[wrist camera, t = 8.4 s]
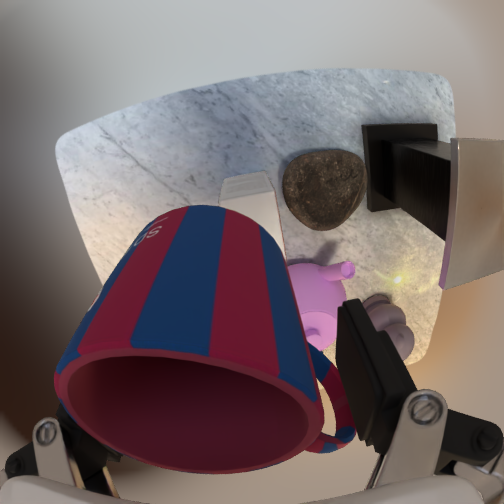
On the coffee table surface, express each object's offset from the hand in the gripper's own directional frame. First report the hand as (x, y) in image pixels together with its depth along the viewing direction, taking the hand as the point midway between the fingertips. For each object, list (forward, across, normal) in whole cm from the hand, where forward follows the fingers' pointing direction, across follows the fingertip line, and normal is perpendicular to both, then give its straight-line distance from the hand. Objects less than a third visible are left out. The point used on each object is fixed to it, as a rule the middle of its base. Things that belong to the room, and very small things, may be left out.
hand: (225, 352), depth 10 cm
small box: (+30, -1, +4) cm, 30 cm away
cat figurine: (+30, -20, +27) cm, 45 cm away
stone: (+30, -11, +3) cm, 32 cm away
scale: (+30, -24, +2) cm, 38 cm away
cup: (+3, 0, 0) cm, 3 cm away
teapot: (+30, -7, +20) cm, 36 cm away
